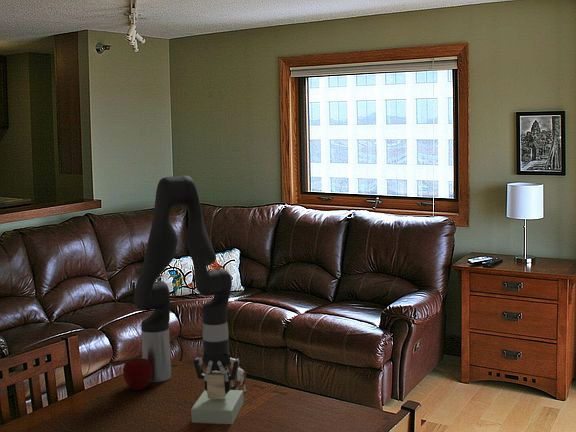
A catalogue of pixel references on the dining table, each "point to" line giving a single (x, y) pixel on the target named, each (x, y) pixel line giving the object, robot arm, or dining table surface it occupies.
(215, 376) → the maple block
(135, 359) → the apple
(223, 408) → the plinth
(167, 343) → the robot arm
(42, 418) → the dining table surface
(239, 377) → the bull figurine
